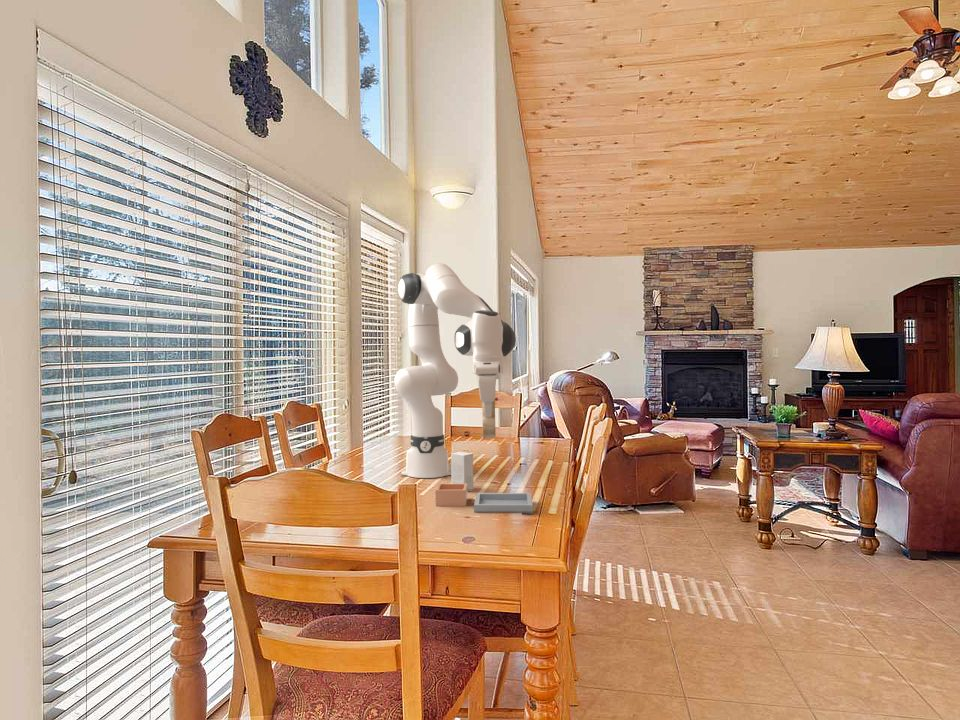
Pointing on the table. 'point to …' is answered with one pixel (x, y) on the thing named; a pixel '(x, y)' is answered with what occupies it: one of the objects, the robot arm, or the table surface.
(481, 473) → the table surface
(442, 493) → the terracotta open box
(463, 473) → the skincare box
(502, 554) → the table surface
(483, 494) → the slate tray
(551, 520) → the table surface
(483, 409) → the translucent grey tall block
